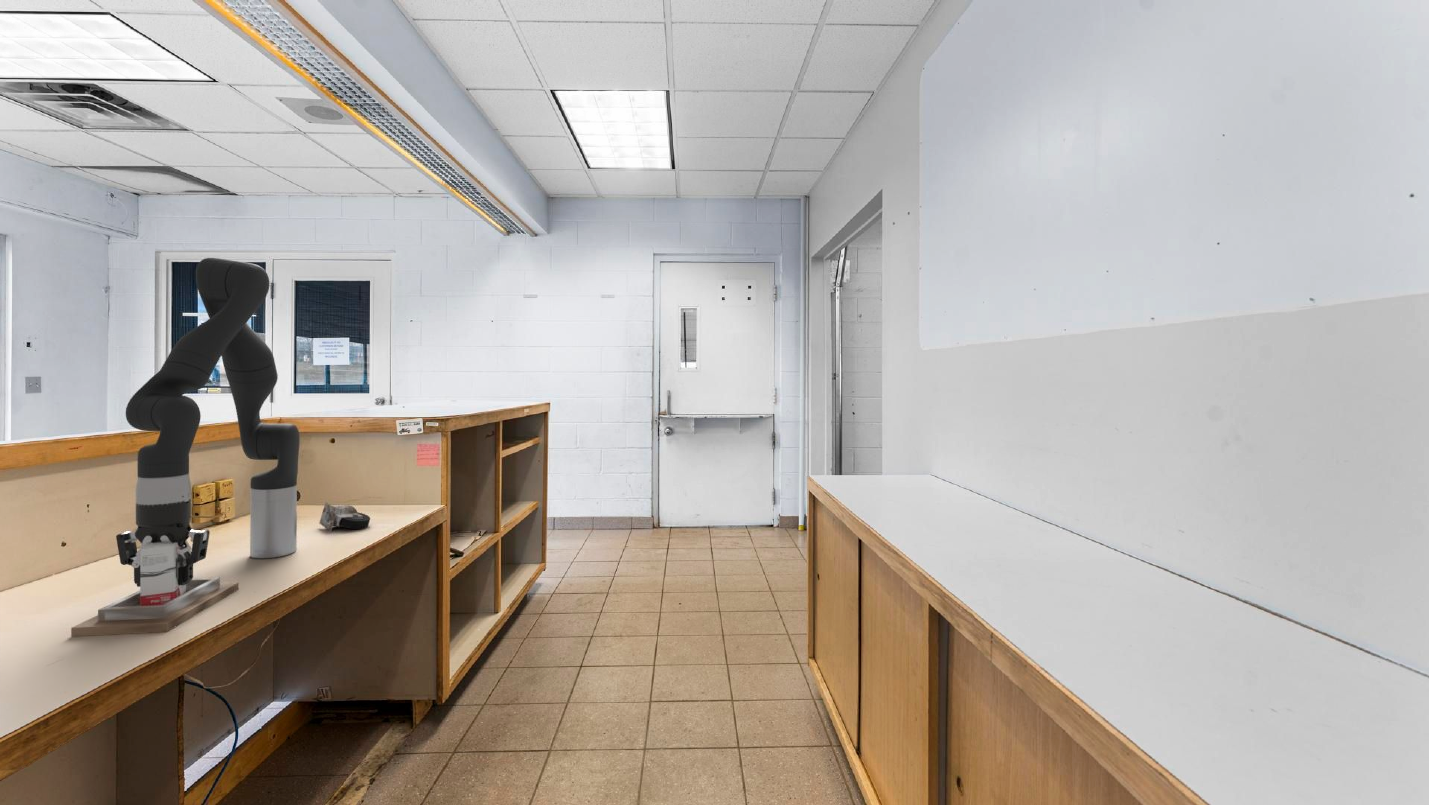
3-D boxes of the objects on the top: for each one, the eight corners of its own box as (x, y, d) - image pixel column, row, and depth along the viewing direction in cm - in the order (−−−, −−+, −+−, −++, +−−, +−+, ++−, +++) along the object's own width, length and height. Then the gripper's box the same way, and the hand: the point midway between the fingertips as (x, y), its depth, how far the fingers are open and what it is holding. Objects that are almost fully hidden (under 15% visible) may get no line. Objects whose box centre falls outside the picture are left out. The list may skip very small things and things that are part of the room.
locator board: (160, 592, 115) (160, 575, 115) (238, 589, 118) (238, 573, 118) (71, 636, 95) (71, 616, 95) (167, 631, 98) (167, 612, 98)
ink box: (175, 606, 104) (174, 544, 104) (138, 611, 102) (138, 548, 101) (187, 590, 112) (187, 533, 111) (153, 595, 109) (153, 535, 108)
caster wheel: (371, 534, 168) (337, 537, 159) (351, 521, 173) (316, 523, 165) (378, 513, 168) (344, 515, 159) (357, 501, 174) (323, 502, 165)
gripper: (101, 503, 101) (102, 594, 101) (194, 502, 104) (194, 590, 104) (135, 494, 108) (135, 579, 109) (220, 494, 111) (220, 576, 112)
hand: (164, 584), depth 106 cm, fingers closed on ink box, 6 cm apart
